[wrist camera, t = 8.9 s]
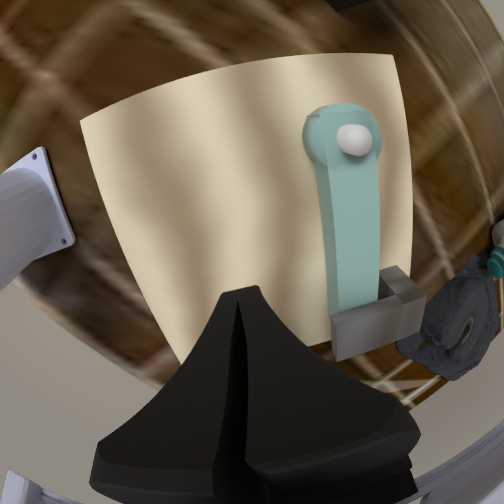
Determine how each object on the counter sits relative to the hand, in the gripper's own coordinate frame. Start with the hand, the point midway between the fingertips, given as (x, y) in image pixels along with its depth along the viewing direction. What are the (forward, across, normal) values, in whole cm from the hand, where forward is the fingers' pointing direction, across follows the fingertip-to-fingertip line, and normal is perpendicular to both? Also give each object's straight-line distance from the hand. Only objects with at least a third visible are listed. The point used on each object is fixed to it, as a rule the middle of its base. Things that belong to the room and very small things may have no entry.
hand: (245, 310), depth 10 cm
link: (+8, -7, +1) cm, 11 cm away
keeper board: (+9, -2, +1) cm, 10 cm away
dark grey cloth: (+10, -25, +20) cm, 34 cm away
